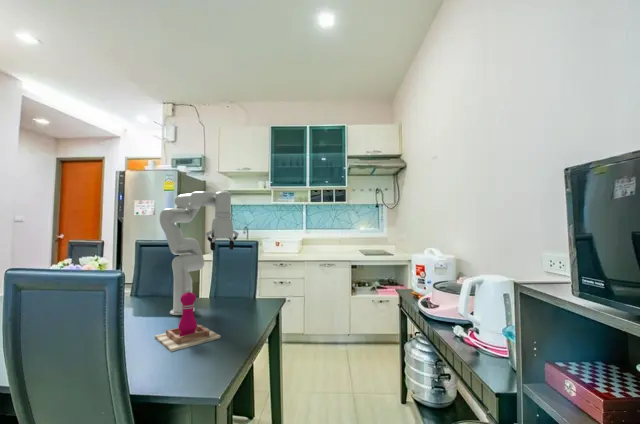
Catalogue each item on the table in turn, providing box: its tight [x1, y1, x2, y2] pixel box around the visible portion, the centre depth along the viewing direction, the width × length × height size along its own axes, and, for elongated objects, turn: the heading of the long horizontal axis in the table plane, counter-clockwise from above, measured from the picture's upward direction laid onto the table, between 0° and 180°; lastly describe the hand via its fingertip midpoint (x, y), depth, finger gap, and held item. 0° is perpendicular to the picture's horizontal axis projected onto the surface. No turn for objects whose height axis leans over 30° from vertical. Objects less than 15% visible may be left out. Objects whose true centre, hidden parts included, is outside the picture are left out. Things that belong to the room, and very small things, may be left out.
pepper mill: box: [177, 289, 198, 336], centre depth 129 cm, size 7×7×20 cm
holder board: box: [154, 323, 221, 352], centre depth 130 cm, size 20×20×3 cm
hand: (222, 249), depth 153 cm, fingers open, 9 cm apart
